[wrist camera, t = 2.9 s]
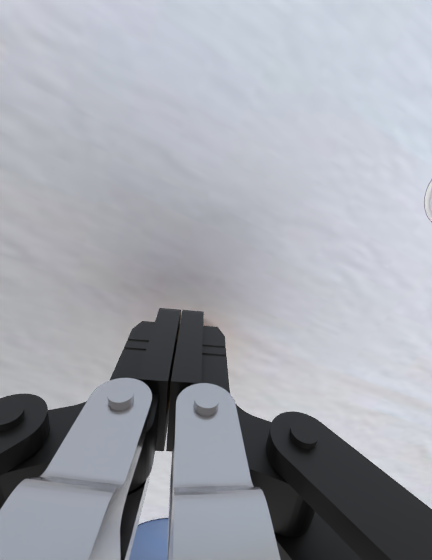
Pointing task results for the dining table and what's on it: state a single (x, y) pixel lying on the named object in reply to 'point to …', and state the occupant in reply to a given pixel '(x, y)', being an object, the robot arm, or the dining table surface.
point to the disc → (150, 541)
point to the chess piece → (429, 201)
